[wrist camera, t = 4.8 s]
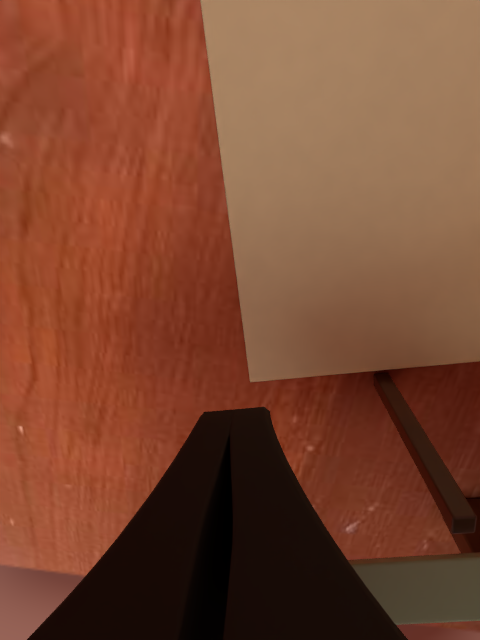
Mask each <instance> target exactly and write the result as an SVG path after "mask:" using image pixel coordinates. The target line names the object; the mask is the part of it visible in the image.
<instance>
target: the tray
mask: <svg viewBox="0 0 480 640" xmlns="http://www.w3.org/2000/svg"><path fill="white" fill-rule="evenodd" d="M348 562H349V563H350V564H351V566H352V567H353V569H354V570H355V571H356V573H357V574H358V575H359V577H360V578H361V580H362V581H363V582H364V584H365V585H366V587H367V588H368V589H369V590H370V592H371V593H372V594H373V596H374V597H375V598H376V600H377V601H378V602H379V604H380V605H381V606H382V608H383V609H384V610H385V611H386V613H387V614H388V615H389V617H390V618H391V619H392V621H393V622H394V623H395V624H396V625H399V624H419V623H440V622H461V621H480V552H476V553H459V554H442V555H426V556H409V557H392V558H375V559H359V560H348Z"/></svg>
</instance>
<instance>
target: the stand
mask: <svg viewBox="0 0 480 640" xmlns="http://www.w3.org/2000/svg"><path fill="white" fill-rule="evenodd" d="M374 386H375V388H376V390H377V392H378V394H379V396H380V398H381V400H382V402H383V403H384V405H385V407H386V409H387V411H388V413H389V415H390V417H391V419H392V421H393V422H394V424H395V426H396V428H397V430H398V432H399V434H400V436H401V438H402V440H403V441H404V443H405V445H406V447H407V449H408V451H409V453H410V455H411V457H412V459H413V460H414V462H415V464H416V466H417V468H418V470H419V472H420V474H421V476H422V478H423V479H424V481H425V483H426V485H427V487H428V489H429V491H430V493H431V495H432V497H433V498H434V500H435V502H436V504H437V506H438V508H439V510H440V512H441V514H442V516H443V519H444V521H445V523H446V525H447V527H448V529H449V531H450V533H451V534H452V536H453V538H454V540H455V542H456V544H457V546H458V548H459V550H460V552H461V553H476V552H480V498H476V499H466V498H465V496H464V495H463V493H462V491H461V490H460V488H459V487H458V485H457V483H456V482H455V480H454V479H453V477H452V475H451V474H450V472H449V471H448V469H447V467H446V466H445V464H444V462H443V461H442V459H441V458H440V456H439V454H438V453H437V451H436V450H435V448H434V446H433V445H432V443H431V441H430V440H429V438H428V437H427V435H426V433H425V432H424V430H423V429H422V427H421V425H420V424H419V422H418V421H417V419H416V417H415V416H414V414H413V412H412V411H411V409H410V408H409V406H408V404H407V403H406V401H405V400H404V398H403V396H402V395H401V393H400V391H399V390H398V388H397V387H396V385H395V383H394V382H393V380H392V379H391V377H390V375H389V374H388V373H378V374H374Z"/></svg>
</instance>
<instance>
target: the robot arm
mask: <svg viewBox="0 0 480 640" xmlns="http://www.w3.org/2000/svg"><path fill="white" fill-rule="evenodd" d="M27 640H408V639H407V638H406V637H405V636H404V634H403V633H402V632H401V631H400V630H399V628H398V627H397V626H396V624H395V623H394V622H393V621H392V619H391V618H390V617H389V615H388V614H387V613H386V611H385V610H384V609H383V608H382V606H381V605H380V604H379V602H378V601H377V600H376V598H375V597H374V596H373V594H372V593H371V592H370V590H369V589H368V588H367V587H366V585H365V584H364V582H363V581H362V580H361V578H360V577H359V575H358V574H357V573H356V571H355V570H354V569H353V567H352V566H351V564H350V563H349V562H348V560H347V559H346V557H345V556H344V554H343V553H342V552H341V550H340V549H339V547H338V546H337V544H336V543H335V541H334V540H333V538H332V537H331V535H330V534H329V532H328V531H327V529H326V527H325V526H324V524H323V523H322V521H321V519H320V518H319V516H318V515H317V513H316V511H315V510H314V508H313V507H312V505H311V503H310V501H309V500H308V498H307V496H306V495H305V493H304V491H303V489H302V488H301V486H300V484H299V482H298V480H297V478H296V476H295V474H294V473H293V471H292V469H291V467H290V465H289V463H288V461H287V459H286V457H285V455H284V453H283V450H282V448H281V446H280V443H279V441H278V439H277V436H276V433H275V431H274V428H273V425H272V421H271V417H270V411H269V410H267V409H266V408H265V407H258V408H246V409H235V410H223V411H212V412H204V413H203V414H202V415H201V417H200V418H199V420H198V421H197V423H196V425H195V426H194V428H193V430H192V431H191V433H190V435H189V437H188V438H187V440H186V441H185V443H184V445H183V446H182V448H181V449H180V451H179V453H178V454H177V456H176V457H175V459H174V460H173V462H172V463H171V465H170V466H169V468H168V469H167V471H166V472H165V474H164V475H163V477H162V478H161V480H160V481H159V483H158V484H157V485H156V487H155V488H154V490H153V491H152V493H151V494H150V496H149V497H148V498H147V500H146V501H145V502H144V504H143V505H142V506H141V508H140V509H139V510H138V512H137V513H136V514H135V516H134V517H133V518H132V519H131V521H130V522H129V523H128V525H127V526H126V527H125V529H124V530H123V531H122V533H121V534H120V535H119V537H118V538H117V539H116V540H115V542H114V543H113V544H112V545H111V546H110V548H109V549H108V550H107V551H106V553H105V554H104V555H103V556H102V557H101V559H100V560H99V561H98V562H97V563H96V565H95V566H94V567H93V568H92V569H91V570H90V572H89V573H88V574H87V575H86V576H85V577H84V579H83V580H82V581H81V582H80V583H79V584H78V585H77V586H76V588H75V589H74V590H73V591H72V592H71V593H70V594H69V595H68V597H67V598H66V599H65V600H64V601H63V602H62V603H61V604H60V605H59V606H58V607H57V609H56V610H55V611H54V612H53V613H52V614H51V615H50V616H49V617H48V618H47V619H46V620H45V621H44V622H43V623H42V624H41V625H40V627H38V629H37V630H36V631H35V632H34V633H33V634H32V635H31V636H30V637H29V638H28V639H27Z"/></svg>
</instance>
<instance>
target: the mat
mask: <svg viewBox="0 0 480 640" xmlns="http://www.w3.org/2000/svg"><path fill="white" fill-rule="evenodd" d="M200 1H201V9H202V17H203V24H204V32H205V40H206V47H207V55H208V63H209V70H210V78H211V86H212V93H213V101H214V109H215V116H216V124H217V132H218V140H219V147H220V155H221V163H222V170H223V178H224V186H225V193H226V201H227V209H228V216H229V224H230V232H231V239H232V247H233V255H234V263H235V270H236V278H237V286H238V293H239V301H240V309H241V316H242V324H243V332H244V339H245V347H246V355H247V363H248V370H249V378H250V382H259V381H270V380H281V379H292V378H303V377H314V376H325V375H336V374H346V373H357V372H368V371H379V370H390V369H401V368H412V367H423V366H434V365H445V364H455V363H466V362H477V361H480V0H200Z"/></svg>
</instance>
